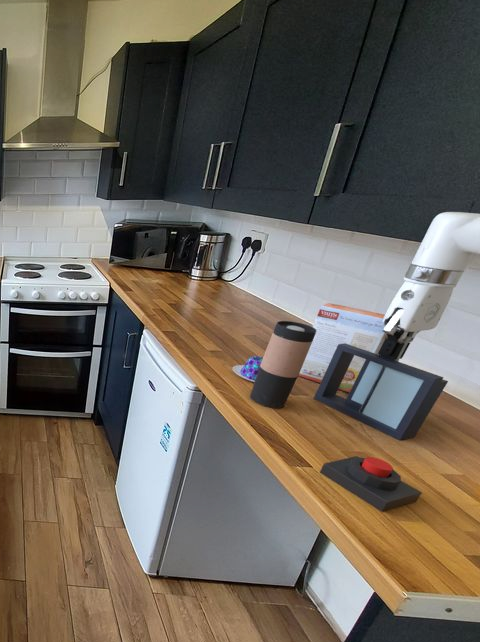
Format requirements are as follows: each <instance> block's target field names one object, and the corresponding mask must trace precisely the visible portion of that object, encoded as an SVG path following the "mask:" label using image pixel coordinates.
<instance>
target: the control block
mask: <svg viewBox="0 0 480 642" xmlns="http://www.w3.org/2000/svg"><path fill="white" fill-rule="evenodd" d="M365 458H366V457H361V456H357V455H355V456H351V457H346V458H342V459H338V460H333V461H329V462H325V463H323V464H322V467H321V469H320V470H319V474H321V475H323V476H324V477H326V478H328V479H329V480H331V481H332V482H333V483H334V484H337V485H338V486H339V487H342V488H343V489H344V490H346V491H347V492H350V493H351V494H353V495H354V496H356V497H357V498H359V499H360V500H362V501H364V502H365V503H366V504H369V505H370V506H372V507H373V508H375V509H376V510H378V511H380V512H381V513H383V512H386V511H389V510H393V509H396V508H400V507H403V506H406V505H410V504H413V503H416V502H417V501H418V500H419V498H420V496H421V495H422V494H423V492H422V491H421V490H419V489H418V488H415V487H413V486H412V485H410V484H409V483H406V482H404V481H403V480H402V477H401V475H400V474H399V472H397V471H396V470H394V469H393V470H392V472H391V473H390V475H389V477H387V478H385V477H379V476H377V475H374V474H371V473H370V472H368V471H366V470H364V469H363V468H362V467H361V465H362V464H363V462H364V460H365Z"/></svg>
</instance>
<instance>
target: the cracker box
mask: <svg viewBox="0 0 480 642" xmlns="http://www.w3.org/2000/svg"><path fill="white" fill-rule="evenodd" d="M384 316H385V314H384V313H379V312H374V311H370V310H366V309H360V308H355V307H351V306H345V305H341V304H335V303H331V302H328V303H325V304H323V305H321V306H320V308H319V310H318V313H317V316H316V317H315V320H314V323H313V324H312V327H313V328H315V329H316V334H315V337H314V339H313V341H312V344H311V346H310V349H309V351H308V354H307V356H306V358H305V361H304V363H303V366H302V368H301V371H300V373H299V375H298V377H301V378H304V379H306V380H310V381H313V382H316V383H319V384H320V383H321V381H322V379H323V377H324V374H325V372H326V370H327V368H328V366H329V363H330V361H331V359H332V357H333V355H334V353H335V350H336V348H337V346H338V344H345V343H346V344H349V345H352V346H354V347H357V348H360V349H363V350H366V351H369V352H372V353H375V354H378V352H379V350H380V348H381V346H382V344H383V342H384V340H385V336H386V334H387V333H385V332H383V329H384V328H385V327H386V325H384V324H383V319H384ZM365 360H366V359H364V358H361V357H358V356H355V355H354V357H353V359H352V361H351V363H350V365H349V368H348V370H347V372H346V374H345V376H344V378H343V380H342V382H341V384H340V386H339V388H338V391H339V390H340V391H343V392H345V393H348V394H349V393H350V391H351V389H352V387H353V385H354V382H355V380H356V378H357V376H358V374H359V372H360V370H361V368H362V366H363V364H364V362H365Z"/></svg>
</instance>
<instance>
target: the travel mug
mask: <svg viewBox="0 0 480 642" xmlns="http://www.w3.org/2000/svg"><path fill="white" fill-rule="evenodd" d="M315 334H316V329H315V328H313V326H311V325H310V324H309V325H308V324H306V323H301V322H297V321H291V320H280V321H277V322H276V324H275V327H274V329H273V332H272V333H271V337H270V338H269V342H268V343H267V347H266V349H265V352H264V355H263V356H262V357H263V359H262V362H261V364H260V367H259V370H258V373H257V376H256V379H255V382H253V385H252V389H251V391H250V395H249V398H250V400H251V401H253V402H254V403H255V404H257V405H260V406H262V407H266V408H270V409H282V408H284V407H285V405H286V403H287V401H288V399H289V397H290V394H291V393H292V390H293V388H294V386H295V384H296V381H297V380H298V377H299V376H298V375H299V373H300V371H301V368H302V366H303V363H304V361H305V358H306V356H307V354H308V351H309V349H310V346H311V344H312V341H313V339H314V337H315Z"/></svg>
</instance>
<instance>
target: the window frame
mask: <svg viewBox="0 0 480 642" xmlns="http://www.w3.org/2000/svg"><path fill="white" fill-rule="evenodd" d="M354 355H355V356H358V357H361V358H364V359H366V360H369V361H372V362H375V363H377V364H380V365H383V366H382V368H381V370H380V372H379V374H378V376H377V378H376V380H375V382H374V384H373V386H372V387H371V389H370V391H369V393H368V395H367V397H366V399H365V401H364V403H363V405H362V407H361V408H360V407H358V406H356V405H354V404H351V403H349V402H347V401H346V399H347V398H345V397H343V396H340V395H338V394H337V393H338V391H339V389H338V388H339V386H340V384H341V382H342V380H343V378H344V376H345V374H346V372H347V370H348V368H349V365H350V363H351V361H352V359H353V357H354ZM448 383H449V381H448V380H446V379H444V376H441V375H438V374H435V373H432V372H429V371H426V370H423V369H421V368H418V367H414V366H412V365H409V364H406V363H404V362H400V361H395V360H392V359H389V358H386V357H383V356H381V355H378V354H375V353H372V352H369V351H366V350H363V349H360V348H357V347H354V346H352V345H349V344H346V343H345V344H338V346H337V348H336V350H335V353H334V355H333V357H332V359H331V361H330V363H329V366H328V368H327V370H326V372H325V374H324V377H323V379H322V381H321V383H319V385H318V388H317V390H316V392H315V394H314V396H313V400H316V401H317V402H319V403H322V404H324V405H326V406H327V407H330V408H332V409H334V410H336V411H338V412H341V413H343V414H344V415H347V416H348V417H351V418H353V419H355V420H357V421H359V422H360V423H362V424H364V425H367V426H369V427H371V428H373V429H375V430H377V431H379V432H381V433H383V434H385V435H387V436H390V437H391V438H393V439H396V440H398V441H403V440H407V439H412V438H415V437H416V435H417V434H418V432H419V430H420V429H421V428H422V426H423V424H424V422H425V421H426V419H427V417H428V416H429V414H430V412H432V409H433V407H434V406H435V404H436V402H437V401H438V399H439V398H440V396H441V394H442V392H443V391H444V389H445V387H446V386H447V384H448Z"/></svg>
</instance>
